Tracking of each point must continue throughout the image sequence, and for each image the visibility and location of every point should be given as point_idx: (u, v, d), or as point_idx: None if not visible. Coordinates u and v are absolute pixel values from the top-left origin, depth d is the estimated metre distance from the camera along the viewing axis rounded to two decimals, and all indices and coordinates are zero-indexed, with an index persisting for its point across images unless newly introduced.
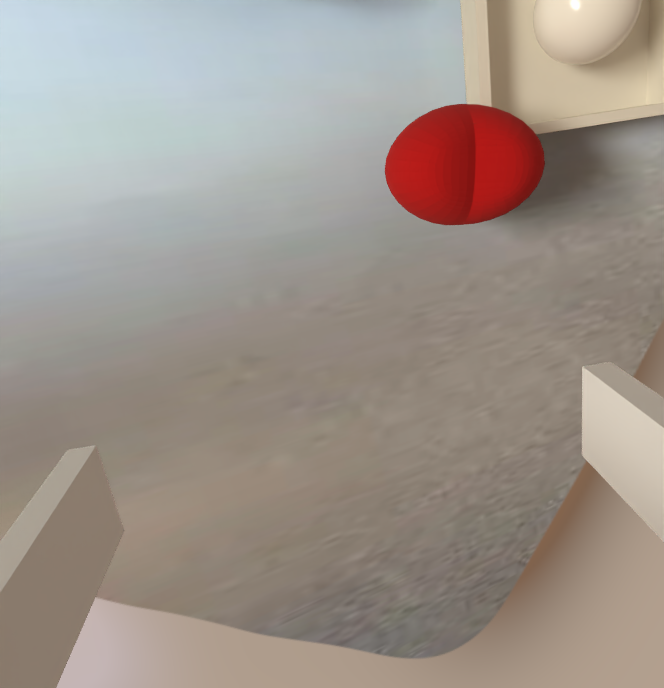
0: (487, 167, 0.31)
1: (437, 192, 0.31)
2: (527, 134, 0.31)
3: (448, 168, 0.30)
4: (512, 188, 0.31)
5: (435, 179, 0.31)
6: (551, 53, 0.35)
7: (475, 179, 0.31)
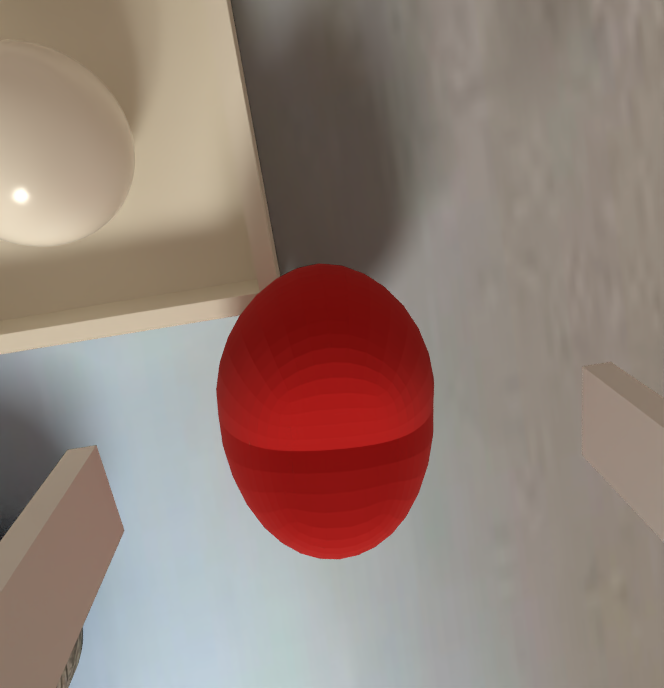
0: (333, 436, 0.15)
1: (380, 527, 0.16)
2: (265, 353, 0.15)
3: (336, 517, 0.15)
4: (376, 390, 0.14)
5: (356, 537, 0.16)
6: (119, 207, 0.18)
7: (356, 446, 0.16)
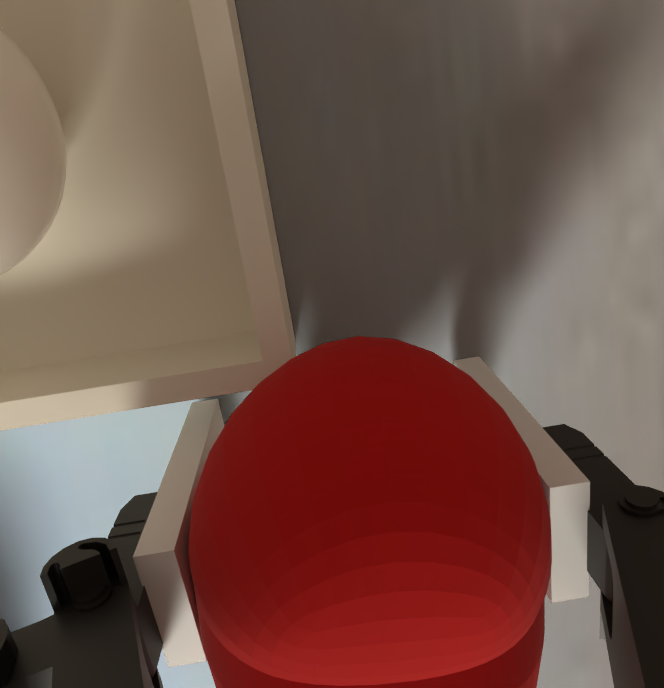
0: (391, 674, 0.08)
1: None
2: (267, 530, 0.08)
3: None
4: (481, 608, 0.07)
5: None
6: (38, 235, 0.12)
7: (429, 678, 0.09)
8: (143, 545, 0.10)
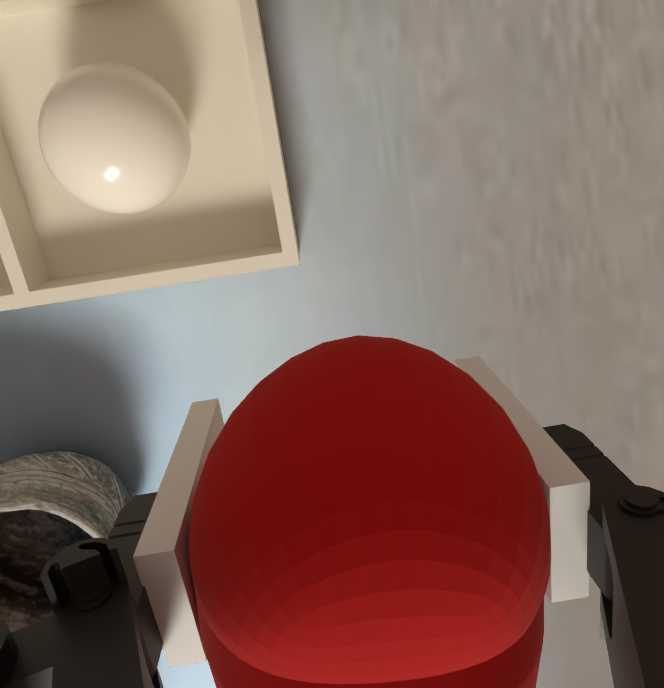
0: (391, 672, 0.08)
1: None
2: (268, 528, 0.08)
3: None
4: (481, 607, 0.07)
5: None
6: (178, 185, 0.25)
7: (429, 676, 0.09)
8: (143, 545, 0.10)
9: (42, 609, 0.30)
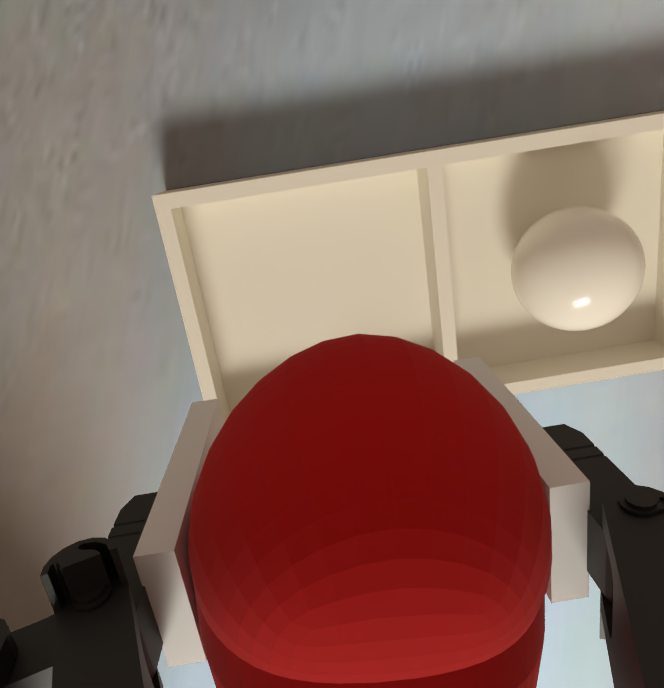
0: (392, 670, 0.08)
1: None
2: (267, 527, 0.08)
3: None
4: (481, 605, 0.07)
5: None
6: None
7: (429, 675, 0.09)
8: (143, 545, 0.10)
9: None
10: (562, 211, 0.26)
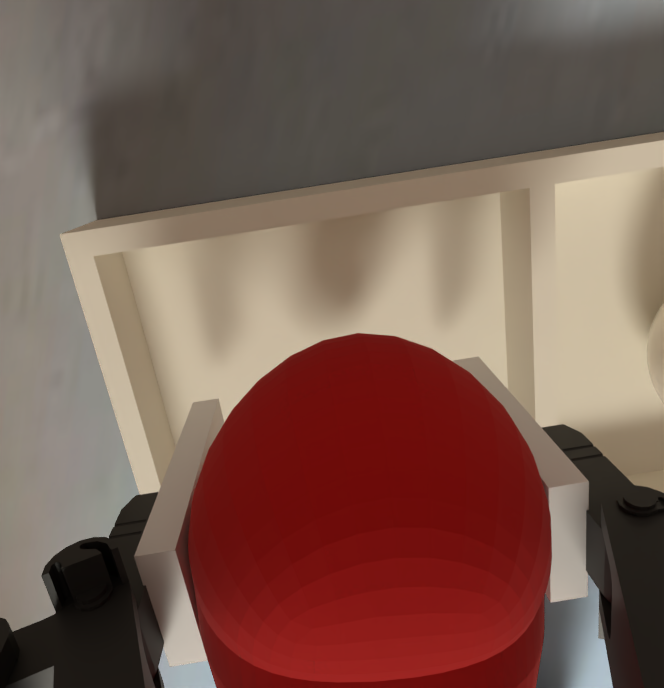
0: (392, 670, 0.08)
1: None
2: (267, 525, 0.08)
3: None
4: (481, 604, 0.07)
5: None
6: None
7: (429, 674, 0.09)
8: (144, 544, 0.10)
9: None
10: None
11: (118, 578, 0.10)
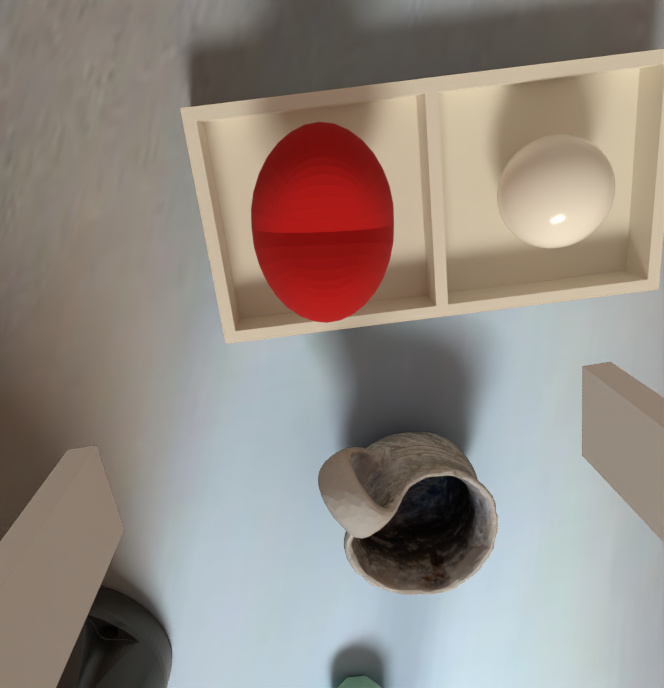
0: (323, 219, 0.24)
1: (352, 284, 0.25)
2: (282, 164, 0.24)
3: (324, 273, 0.25)
4: (349, 185, 0.24)
5: (337, 289, 0.25)
6: None
7: (338, 230, 0.25)
8: None
9: (405, 559, 0.38)
10: (543, 137, 0.30)
11: None
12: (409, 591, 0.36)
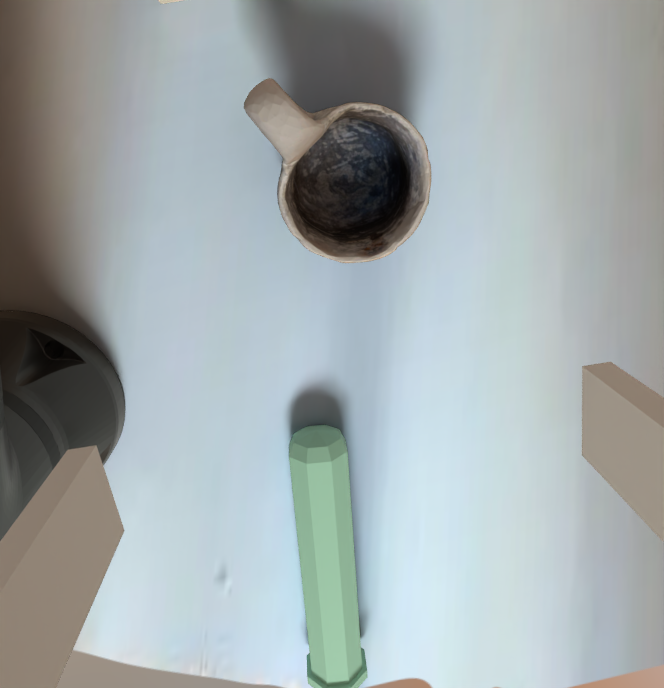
0: None
1: None
2: None
3: None
4: None
5: None
6: None
7: None
8: None
9: (345, 240, 0.37)
10: None
11: None
12: (348, 258, 0.36)
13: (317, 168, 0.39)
